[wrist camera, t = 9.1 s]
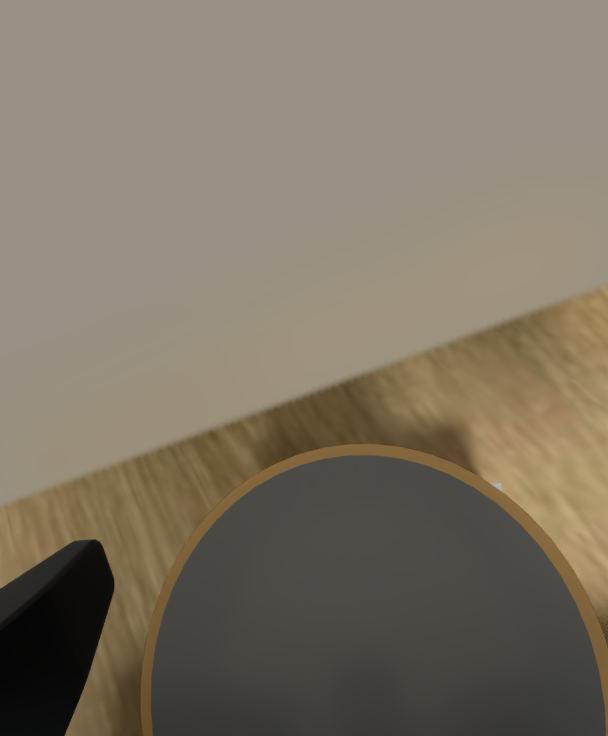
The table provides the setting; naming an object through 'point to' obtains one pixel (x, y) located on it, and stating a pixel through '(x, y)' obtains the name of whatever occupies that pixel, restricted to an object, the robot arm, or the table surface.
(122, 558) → the table surface
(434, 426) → the table surface
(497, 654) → the grey banded cylinder
